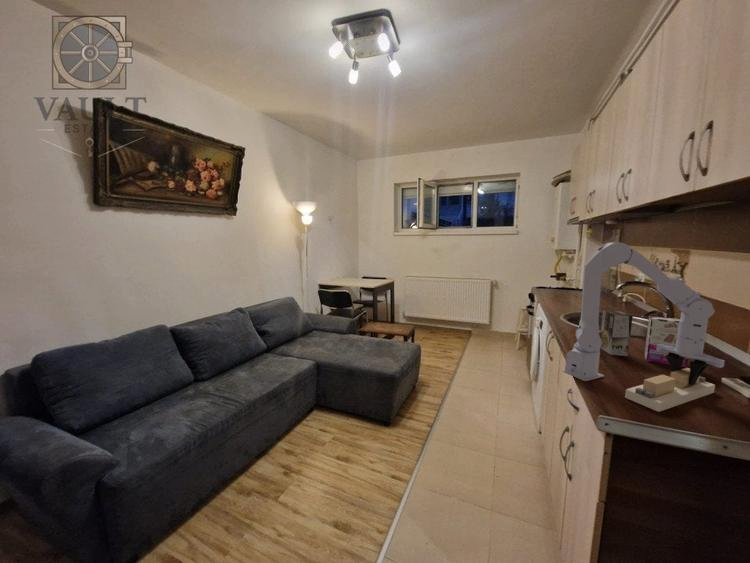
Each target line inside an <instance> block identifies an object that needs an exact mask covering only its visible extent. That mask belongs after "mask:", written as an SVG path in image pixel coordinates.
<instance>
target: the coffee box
mask: <svg viewBox="0 0 750 563" xmlns="http://www.w3.org/2000/svg"><path fill="white" fill-rule="evenodd" d="M633 317H634V315H632V314H629V313H627V312H624V311H621V310H616V309H615V310H614V309H613V310H612V309H611V310H609V309H608V310H606V309H603V310H602V317H601V318H602V319H601V326H600V335H599V336H600V338H601V340H602V345H601V347H600V350H603V351H604V352H605V353H607V354H609V355H610V356H622V357H628V355H629V349H630V341H631V333H632V324H633Z"/></svg>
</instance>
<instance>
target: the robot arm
mask: <svg viewBox="0 0 750 563" xmlns="http://www.w3.org/2000/svg"><path fill="white" fill-rule="evenodd" d="M620 264H623V265H624V264H625V265H629V266H632V267H634V268H636V269H637V270H638V271H639V272H641V273H642V274H644V275H645V276H646V277H647V278H648V279H650V280H651V281H652V282H654V283H656V290H657V291H658V293H660V294H662V296H664V297H665V298H666V299H667V300H669V302H671V303H673V305H675V306H677V309H678V310H679V311H681V312H680V318H679V319H680V321H679V327H678V334H677V341H676V347H674V346H668V345H664V344H657V348H656V350H657V351H663V352H666V353H669V354H668V355H667V356H666V359H667V360H668V362H669V364H670V365H669V366H670V370H671V372H674V371H677V370H681V369H683V367H682V364H683V361H684V358H688V360H692V361H689V368H690V377H689V385H694V384H695V383H696V381H697V379H698V377H699V376H701V374H703V372H704V371H705V370H706V369H707V368H708V367H710V366H711V365H712V366H713V367H715V368H718V369H721V368H724V367H725V361H726V360H724V359H720V358H718V357H715V356H712V355H709V354H706V353H704V349H705V340H706V335H707V331H708V330H707V329H708V321H709V319H710V318H711V317H712V316H713V314H714V313H715V311H716V310H715V309H714V305H713V304H712V301H709V300H708V299H705V298H702V297H700V296H701V295H702V294H701V292H700V291H698V290H696V291H695V290H694V289H693V288H691V287H690V286H688V284H686V283H687V281H686V280H685V279H684V278H678V277H677V276H668V275H666V274H665V273H664V272H663V271H662V270H661V269H660V268H658V267H657V266H656V265H655V264H654V263H652V262H651V261H650V260H649V259H647V257H646V256H644V255H643V254H642V253H640V252H639V251H637V250H635V249H634V248H631V247H630V246H629V245H628V244H626V243H624V242H621V241H620V242H615V241H610V242H607V243H605V244H603V245H602V246H599V247H597V249H596V250H595V252H594V253H593V254H592V256H591V257H590V258H589V259H588V260H587V261H586V262H585V264H584V267H583V278H582V291H581V292H582V295H581V297H582V298H581V310H580V311H581V312H580V319H579V324H578V328H577V329H576V330H575V338H576V340H577V341H576V342H575V343H574V344H573V348H572V349H571V350H569V351H568V352H567V353H566V356H565V364H564V365H565V366H564V369H563V370H561V372H563V373H564V374H567V375H570V376H571V377H574V378H577V379H579V380H580V381H583V382H588V381H592V380H595V379H599V378H604V377H605V375H604V374H602V373H599V365H600V356H601V348H600V347H601V345H602V340H601V338H600V336H601V335H600V327H599V326H600V325H599V317H600V306H601V304H600V303H601V288H602V276H603V273H604V272H606V271H607V270H609V269H610V268H612V267H613V266H618V265H620Z"/></svg>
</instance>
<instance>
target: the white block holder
mask: <svg viewBox="0 0 750 563" xmlns="http://www.w3.org/2000/svg"><path fill="white" fill-rule="evenodd" d="M675 380H676V379H675V378H672V377H670V375H669V376H668V375H665V374H659V375H656V376H652V377H649V378H645V379H643V384H640V385H635V386H632V387H629V388H626V389H625V392H624V393H625V395H624V398H626V399H627V400H630V401H632V402H635V403H636V404H639V405H642V406H644V407H646V408H649V409H651V410H653V411H656V412H657V413H658V412H662V411H665V410H668V409H670V408H674V407H677V406H679V405H682V404H685V403H688V402H691V401H695V400H697V399H700V398H702V397H706V396H708V395H711V394H714V393H715V388H716V385H715V383H714V384H713V383H710V382H707V381H706V377H705V376H704V377H703V376H701V375H700V378H699V384H698V385H694V386H691V387H688V388H685V389H679V388H677V387H675Z"/></svg>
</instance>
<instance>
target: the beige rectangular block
mask: <svg viewBox="0 0 750 563" xmlns="http://www.w3.org/2000/svg"><path fill="white" fill-rule="evenodd" d="M700 376H701V375H700ZM700 376H699V377H698V379H697V381H696V383H695V384H694V385H698V384H699V378H700ZM669 377H672V378H675V379H676V380H675V387H677V388H679V389H685V388H688V387H691V386H694V385H689V377H690V367H684V368H681V370H677V371H674V372H672V371H671V372H670V375H669Z"/></svg>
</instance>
